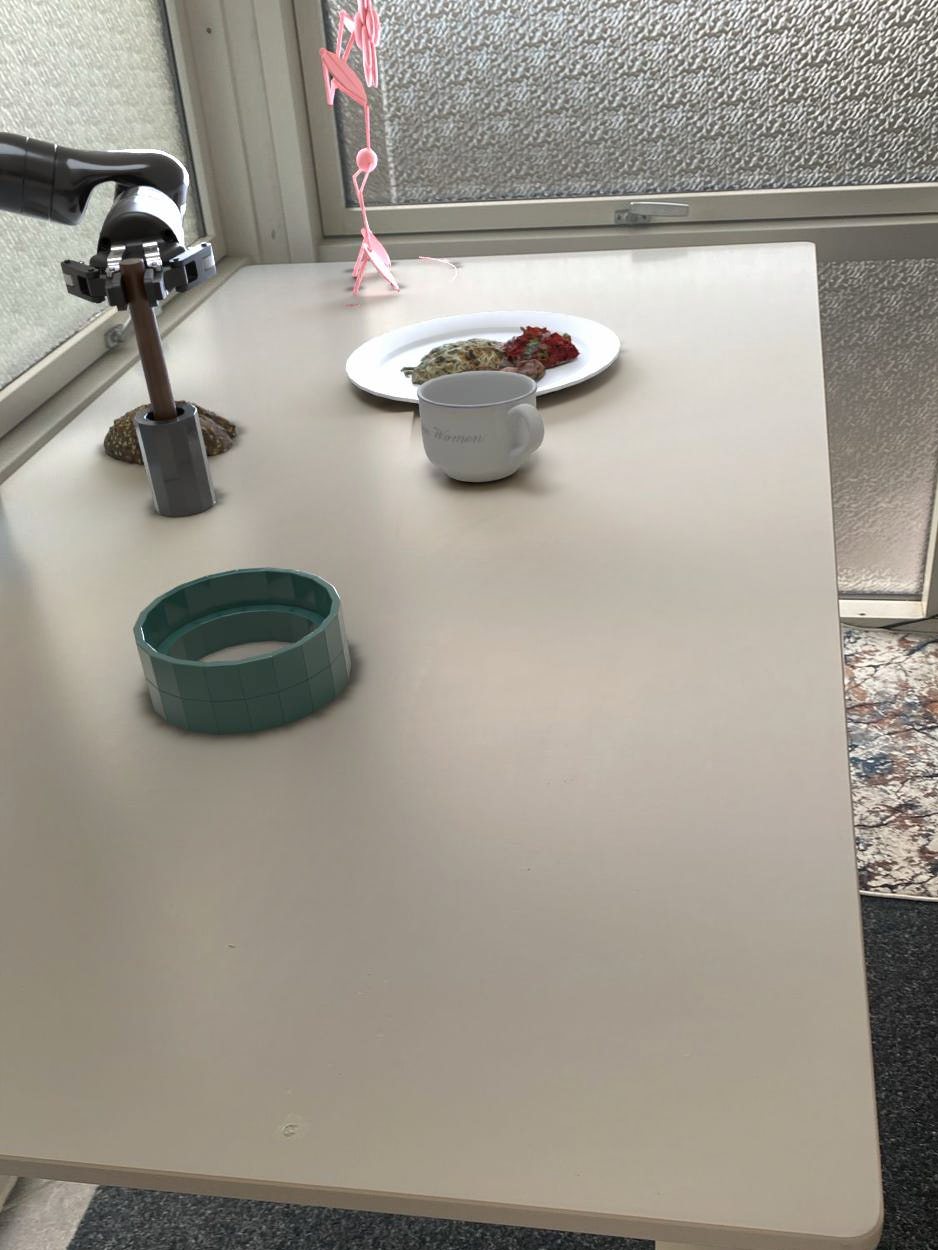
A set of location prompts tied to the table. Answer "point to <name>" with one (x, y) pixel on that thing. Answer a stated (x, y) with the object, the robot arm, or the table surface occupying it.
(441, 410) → the teacup
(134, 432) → the bread roll
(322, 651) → the ring
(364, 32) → the figurine
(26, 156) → the robot arm
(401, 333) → the plated food
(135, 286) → the stick
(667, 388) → the table surface
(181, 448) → the holder
